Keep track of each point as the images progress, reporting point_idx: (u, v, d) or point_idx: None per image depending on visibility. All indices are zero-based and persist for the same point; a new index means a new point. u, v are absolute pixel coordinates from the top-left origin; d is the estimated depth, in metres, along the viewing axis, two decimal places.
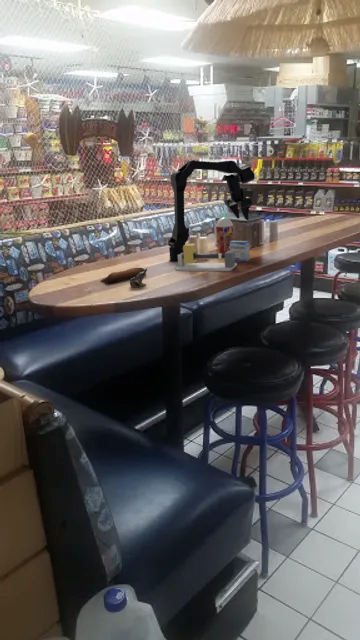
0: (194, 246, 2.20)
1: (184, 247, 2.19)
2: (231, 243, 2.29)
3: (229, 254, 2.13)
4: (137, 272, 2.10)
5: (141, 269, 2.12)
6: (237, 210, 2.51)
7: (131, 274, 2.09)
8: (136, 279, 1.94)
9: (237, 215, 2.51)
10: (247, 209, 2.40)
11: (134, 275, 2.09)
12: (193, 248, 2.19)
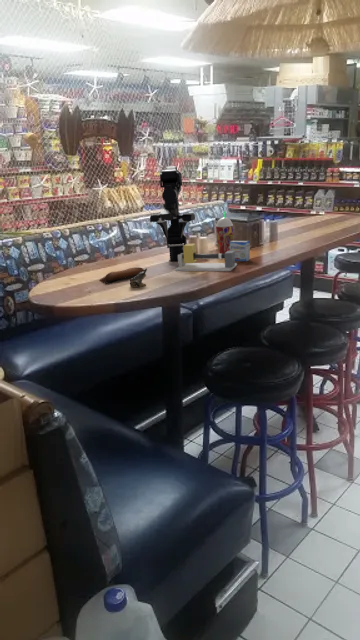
0: (194, 246, 2.20)
1: (184, 247, 2.19)
2: (231, 243, 2.29)
3: (229, 254, 2.13)
4: (135, 272, 2.11)
5: (140, 269, 2.12)
6: None
7: (130, 274, 2.09)
8: (136, 279, 1.94)
9: None
10: None
11: (133, 275, 2.10)
12: (193, 248, 2.19)
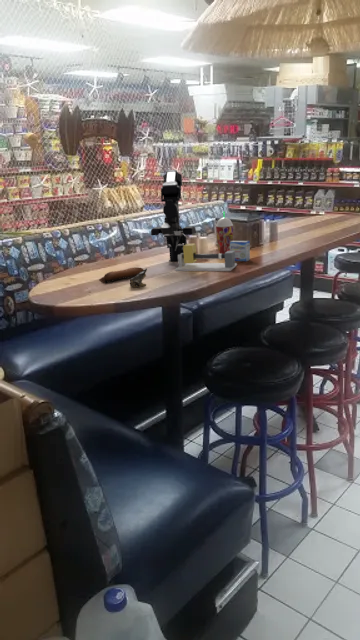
0: (194, 246, 2.20)
1: (184, 247, 2.19)
2: (231, 243, 2.29)
3: (229, 254, 2.13)
4: (135, 272, 2.11)
5: (140, 269, 2.12)
6: None
7: (129, 274, 2.10)
8: (136, 279, 1.94)
9: None
10: None
11: (132, 275, 2.10)
12: (193, 248, 2.19)
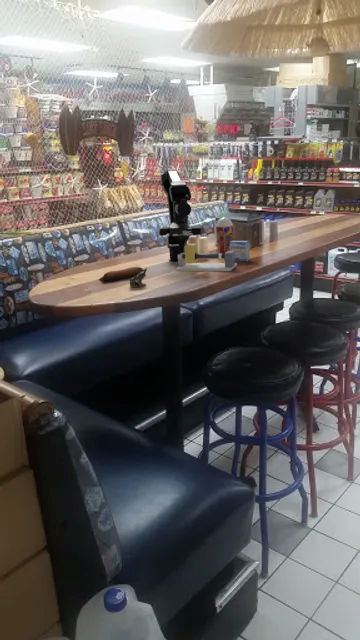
0: (195, 246, 2.20)
1: (185, 247, 2.18)
2: (231, 243, 2.29)
3: (229, 254, 2.13)
4: (134, 272, 2.11)
5: (139, 269, 2.13)
6: None
7: (129, 274, 2.10)
8: (136, 279, 1.94)
9: None
10: None
11: (131, 274, 2.11)
12: (194, 248, 2.19)
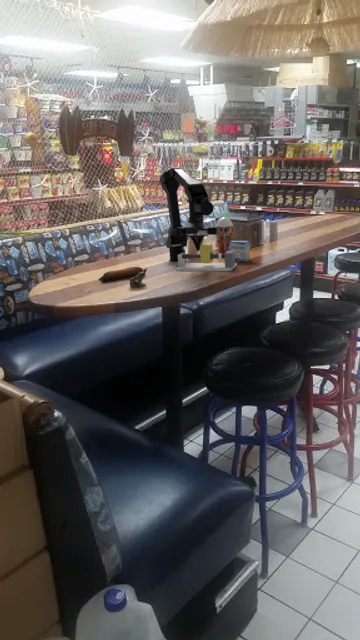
0: (211, 246, 2.18)
1: (201, 247, 2.16)
2: (231, 243, 2.29)
3: (229, 254, 2.13)
4: (134, 271, 2.12)
5: (139, 268, 2.13)
6: None
7: (128, 273, 2.10)
8: (136, 279, 1.94)
9: None
10: None
11: (131, 274, 2.11)
12: (210, 248, 2.17)
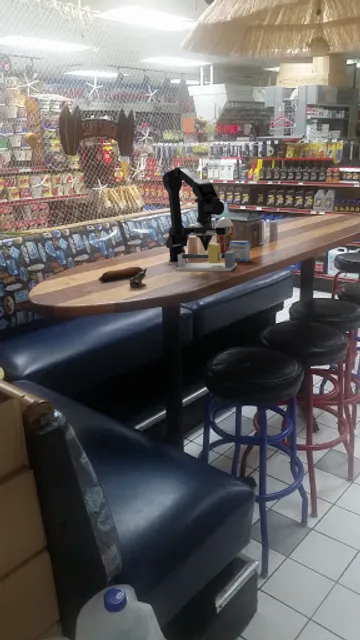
0: (219, 246, 2.17)
1: (209, 247, 2.15)
2: (231, 243, 2.29)
3: (229, 254, 2.13)
4: (133, 271, 2.12)
5: (138, 268, 2.13)
6: None
7: (127, 273, 2.11)
8: (136, 279, 1.94)
9: None
10: None
11: (130, 274, 2.11)
12: (218, 248, 2.15)
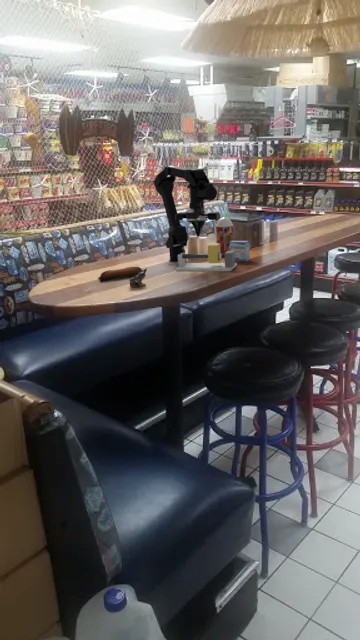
0: (218, 246, 2.17)
1: (208, 247, 2.15)
2: (231, 243, 2.29)
3: (229, 254, 2.13)
4: (132, 271, 2.12)
5: (138, 268, 2.14)
6: None
7: (126, 273, 2.11)
8: (136, 279, 1.94)
9: None
10: None
11: (129, 274, 2.12)
12: (218, 248, 2.15)
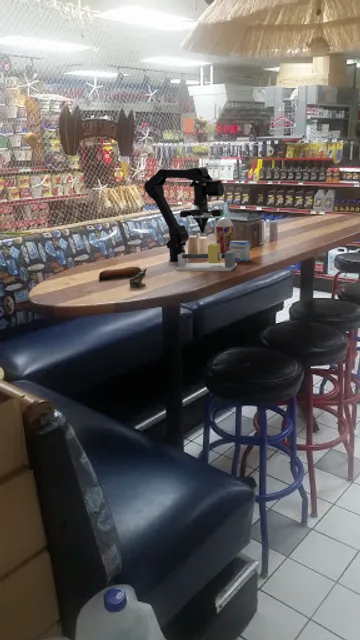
0: (218, 246, 2.17)
1: (208, 247, 2.15)
2: (231, 243, 2.29)
3: (229, 254, 2.13)
4: (131, 271, 2.12)
5: (137, 268, 2.13)
6: None
7: (125, 273, 2.12)
8: (136, 279, 1.94)
9: None
10: None
11: (128, 274, 2.12)
12: (218, 248, 2.15)
